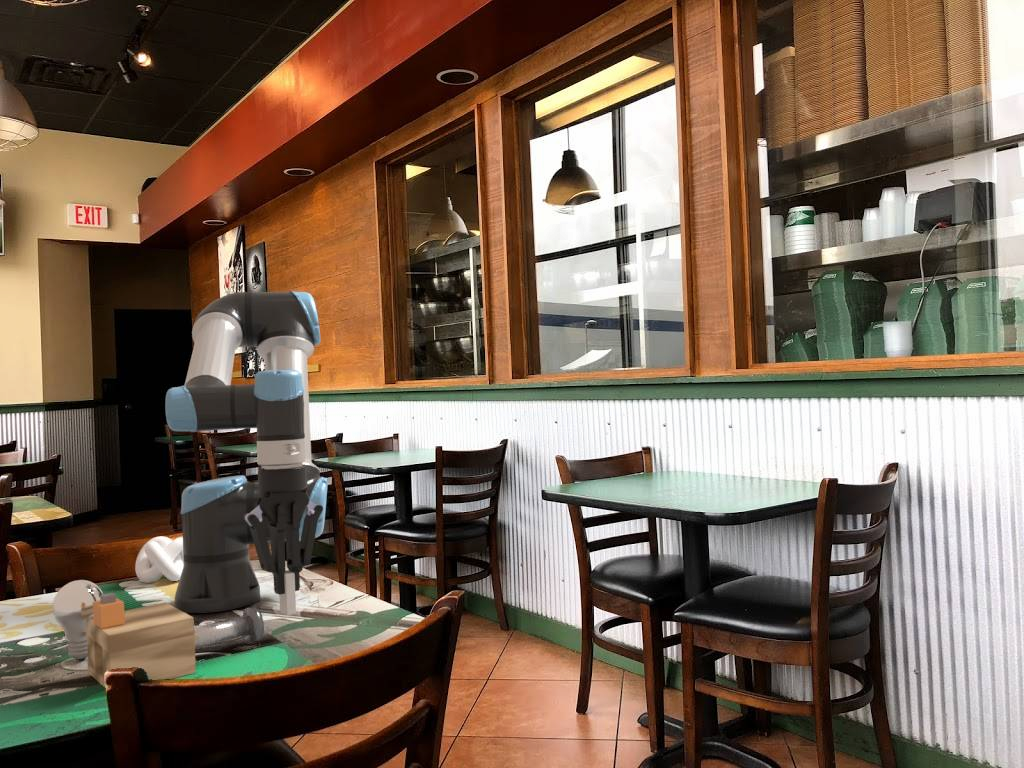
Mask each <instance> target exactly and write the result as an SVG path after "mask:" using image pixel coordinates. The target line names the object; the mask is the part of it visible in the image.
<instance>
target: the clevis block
mask: <svg viewBox="0 0 1024 768" xmlns="http://www.w3.org/2000/svg"><path fill="white" fill-rule="evenodd" d="M124 616H125V624H122V625H117V626H112V627H107V628H103V629H101V628H100V627H98V626H97V625H96V624H94V621H93V617H90V618H86V624H87V649H88V657H87V668H88V671H87V672H88V674H89V675H90V676H91V677H93V678H94V679H95V680H96V681H97V682H98V683H99V684H100V685H101V686H102V685H103V686H102V687H103V688H104V673H105V672H106V671H107V670H111V669H116V668H132V667H138V668H142V669H144V670H146V672H147V675H148V677H149V678H150V679H152V680H158V679H169V680H173V679H176V678H180V677H185V676H187V675H192V674H196V672H197V671H196V669H197V667H196V648H195V640H194V627H195V620H194V619H195V618H194V617H193V615H192V616H191V615H190V614H188V613H187V612H182V611H181V610H179V609H177V608H175V606H173V605H172V604H169V603H167V602H161V603H156V604H153V605H152V604H150V605H147V606H140V607H136V608H135V607H134V608H130V609H127V610H125V609H124Z"/></svg>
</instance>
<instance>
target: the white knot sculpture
mask: <svg viewBox="0 0 1024 768" xmlns="http://www.w3.org/2000/svg"><path fill="white" fill-rule="evenodd" d="M183 565H184V557H183V536H181V537H177V538H175V539H171V538H170V537H167V536H161V535H160V536H156V537H152V538H151V539H150V540H148V541H147V542H145V544H144V545H142V547H141V548H140V551H139V552H138V554H137V557H136V561H135V565H134V567H135V573H136V574H135V575H136V576H137V578H138V579H139V581H141V583H145V584H151V582H152V583H154V582H157V581H158V580H160V579H161V578H162V577H165V578H166V579H167V580H169V581H171V582H172V581H177V580H180V577H181V573H182V570H183ZM163 575H164V576H163Z"/></svg>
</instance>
